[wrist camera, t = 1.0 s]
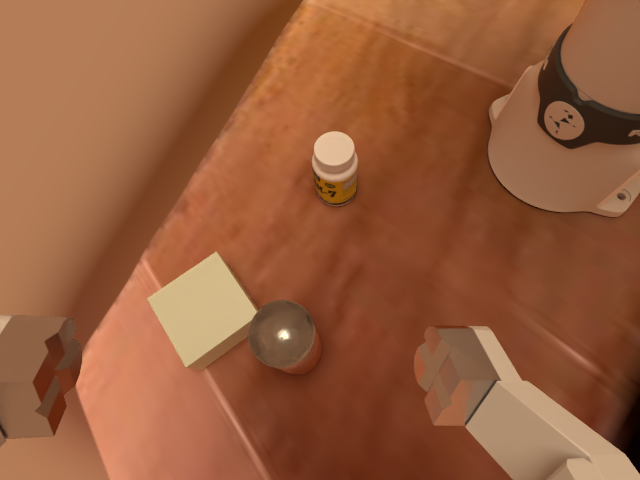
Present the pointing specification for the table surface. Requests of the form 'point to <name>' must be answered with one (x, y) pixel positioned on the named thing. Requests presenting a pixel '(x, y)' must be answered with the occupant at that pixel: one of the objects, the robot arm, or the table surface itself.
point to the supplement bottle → (335, 168)
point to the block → (204, 312)
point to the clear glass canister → (285, 337)
